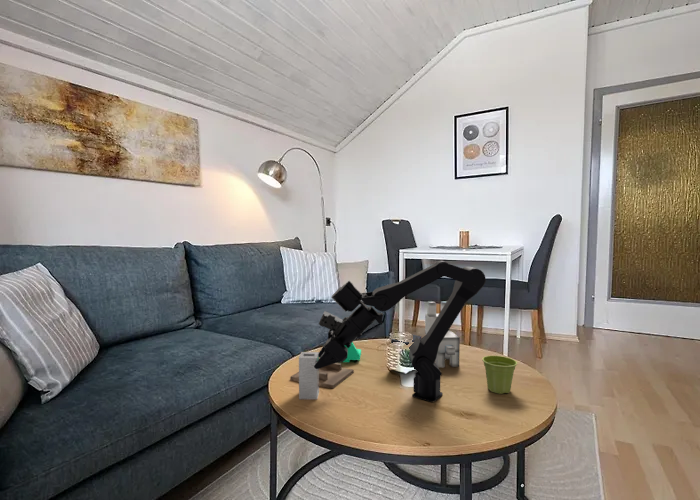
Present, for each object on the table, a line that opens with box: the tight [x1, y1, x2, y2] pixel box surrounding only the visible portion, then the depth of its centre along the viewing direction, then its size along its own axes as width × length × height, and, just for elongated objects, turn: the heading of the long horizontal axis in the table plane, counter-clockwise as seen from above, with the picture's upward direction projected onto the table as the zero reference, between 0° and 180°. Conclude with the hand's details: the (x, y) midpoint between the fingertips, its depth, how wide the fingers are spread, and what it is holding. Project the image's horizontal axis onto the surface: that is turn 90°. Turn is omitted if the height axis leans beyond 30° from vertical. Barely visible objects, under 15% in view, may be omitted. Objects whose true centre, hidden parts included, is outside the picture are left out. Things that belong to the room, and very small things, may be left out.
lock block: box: [298, 351, 320, 400], centre depth 107 cm, size 5×5×12 cm
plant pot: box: [481, 355, 518, 395], centre depth 111 cm, size 9×9×9 cm
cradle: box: [289, 362, 355, 390], centre depth 122 cm, size 15×14×3 cm
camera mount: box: [342, 341, 362, 363], centre depth 138 cm, size 12×8×10 cm, turn 84°
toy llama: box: [424, 300, 461, 368], centre depth 136 cm, size 8×18×20 cm, turn 5°
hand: (316, 361), depth 107 cm, fingers open, 9 cm apart
